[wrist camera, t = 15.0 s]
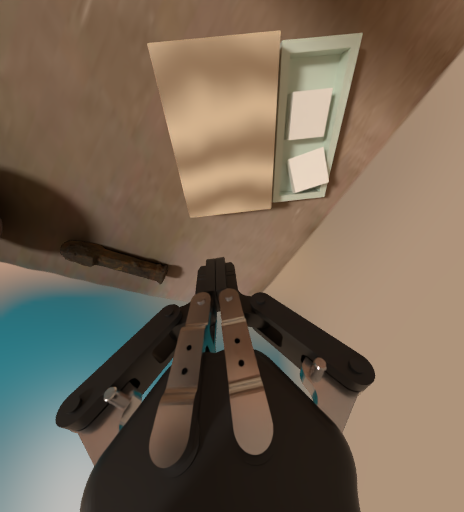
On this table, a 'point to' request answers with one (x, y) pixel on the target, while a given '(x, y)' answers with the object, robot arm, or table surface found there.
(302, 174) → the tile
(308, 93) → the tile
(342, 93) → the tray
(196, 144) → the light wood flat block
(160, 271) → the hand tool
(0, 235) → the wooden sphere
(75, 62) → the table surface
